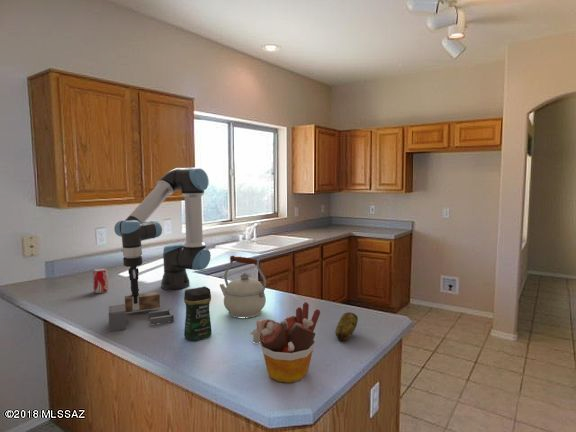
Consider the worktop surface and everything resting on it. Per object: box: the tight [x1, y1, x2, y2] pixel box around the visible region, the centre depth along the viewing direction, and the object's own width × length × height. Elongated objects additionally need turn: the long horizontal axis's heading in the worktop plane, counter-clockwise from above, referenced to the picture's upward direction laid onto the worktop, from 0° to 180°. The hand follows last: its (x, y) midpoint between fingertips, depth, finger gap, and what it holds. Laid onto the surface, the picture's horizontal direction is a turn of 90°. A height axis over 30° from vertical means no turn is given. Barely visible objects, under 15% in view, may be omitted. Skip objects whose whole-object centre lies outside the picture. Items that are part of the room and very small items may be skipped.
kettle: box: [219, 255, 267, 319], centre depth 165 cm, size 25×18×25 cm
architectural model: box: [250, 326, 260, 344], centre depth 137 cm, size 3×7×7 cm, turn 141°
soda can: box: [92, 267, 109, 294], centre depth 196 cm, size 7×7×12 cm
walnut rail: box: [124, 291, 161, 314], centre depth 166 cm, size 14×4×6 cm, turn 117°
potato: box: [335, 311, 359, 342], centre depth 140 cm, size 8×13×8 cm, turn 136°
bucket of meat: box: [255, 301, 321, 384], centre depth 112 cm, size 20×16×20 cm
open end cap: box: [147, 308, 175, 325], centre depth 157 cm, size 9×9×2 cm
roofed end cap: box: [108, 303, 127, 332], centre depth 150 cm, size 6×9×7 cm
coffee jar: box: [183, 285, 213, 342], centre depth 139 cm, size 10×8×19 cm
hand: (135, 308), depth 165 cm, fingers closed on walnut rail, 5 cm apart
